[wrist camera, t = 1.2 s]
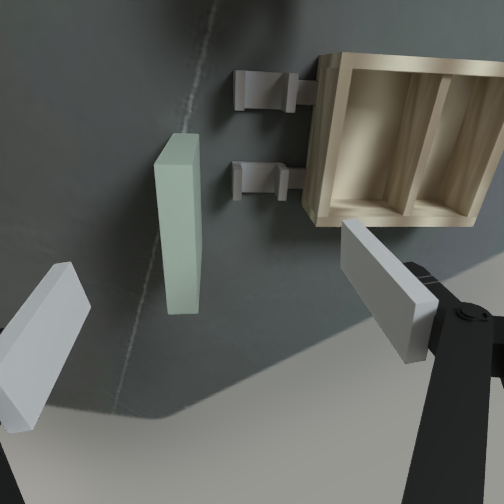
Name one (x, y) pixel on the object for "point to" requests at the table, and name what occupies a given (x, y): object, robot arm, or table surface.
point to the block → (180, 221)
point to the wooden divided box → (384, 138)
